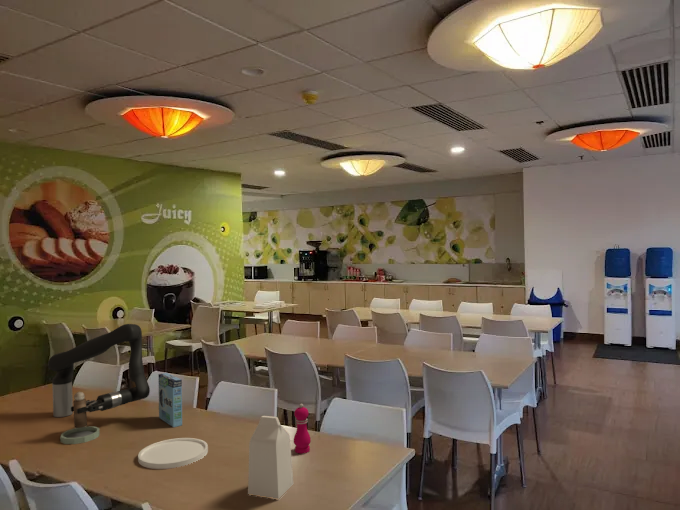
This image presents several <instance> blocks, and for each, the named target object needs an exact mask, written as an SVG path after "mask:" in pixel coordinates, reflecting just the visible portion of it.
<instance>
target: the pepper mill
mask: <svg viewBox="0 0 680 510" xmlns="http://www.w3.org/2000/svg"><path fill="white" fill-rule="evenodd" d="M309 412H310V411H309V410H308V408H306V406H304V404H303V403H300V404H299V405H298V407H297V408H296V409H295V410H294V417H295V423H296V431H295V433H294V438H293V444H294V445H295V447H294V451H295V453H296V454H301V455H302V454H303V453H304V454H307V452H308V453H309V452H310V451H311V449H310V448H311V447H310V443H311V442H312V440H311V438H312V437H311V435H310V433H309V431H308V426H307V423H308V422H309V421H308V417H309ZM304 454H303V455H304Z"/></svg>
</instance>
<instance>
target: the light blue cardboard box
mask: <svg viewBox="0 0 680 510" xmlns="http://www.w3.org/2000/svg"><path fill="white" fill-rule="evenodd" d="M157 375H158V419H160V420H162V421H163V422H165V423H166V424H168V425H169V426H171V427H172V428H176V427H181V426H183V391H182V390H183V389H182V388H183V387H182V386H183V384H182V383H183V382H182V378H179V377H177V376H175V375H173V374H170V373H168V372H163V373H158V374H157Z"/></svg>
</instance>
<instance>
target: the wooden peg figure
mask: <svg viewBox="0 0 680 510" xmlns="http://www.w3.org/2000/svg"><path fill="white" fill-rule="evenodd" d="M85 397H86V396H85V393H84V392H83V391H76V392H75V393H74V396H73V399H74V400H73V406H74V411H73V427H74V428H81V427H85V426H88V420H87V412H83V413H79V414H78V413H77V409H78V408H82V407H86V401H87V399H86V398H85Z"/></svg>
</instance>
